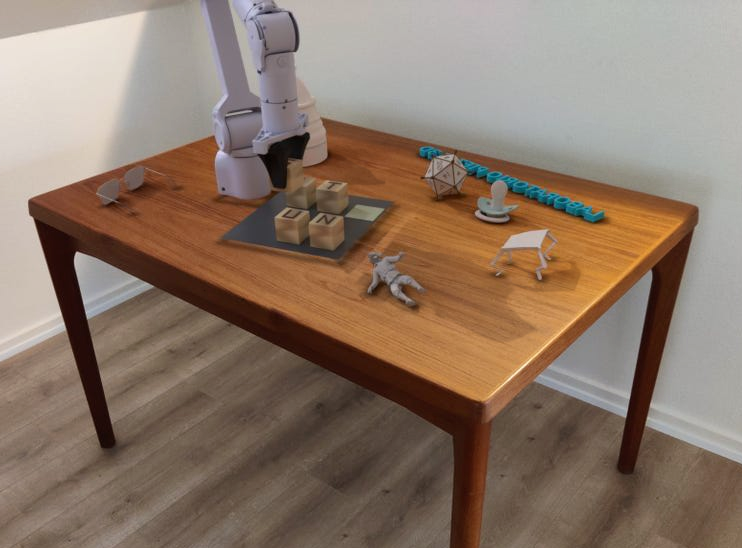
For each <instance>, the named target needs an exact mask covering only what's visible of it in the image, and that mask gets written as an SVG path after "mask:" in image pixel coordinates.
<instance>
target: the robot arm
mask: <svg viewBox="0 0 742 548" xmlns="http://www.w3.org/2000/svg"><path fill="white" fill-rule="evenodd" d="M198 3H199V6H200V10H201V12H202V16H203V20H204V25H205V28H206V33H207V36H208V37H207V38H208V41H209V44H210V49H211V52H212V56H213V61H214V65H215V69H216V73H217V77H218V81H219V85H220V89H221V93H222V97H221V99H220V100H219V101H218V102H217V104H216V105H215V106H214V107H213V109H212V112H211V118H212V123H213V134H214V139H215V142H216V145H217V147H218V148H219V150H218V151H217V152H216V155H215V158H214V159H215V160H214V170H215V171H214V172H215V175H216V176H215V177H216V184H217V191H218V194H219V195H223V196H229V197H233V198H237V199H240V200H245V201H246V200H247V201H248V200H249V201H250V200H258V199H262V198H265V197H267V196H269V195H270V194H271V193H272V190H270V187H269V177H270V179H271V182H272V185H273V187H274V188H279V189H285V188H286V184H287V164H288V158H292V159H299V160H302V161H303V156H304V152H305V149H306V146H307V144H308V141H309V139H310V133H308V132H306V128H305V127H308V126H309V118H308V114H303V113H299V112H298V99H297V86H296V76H297V75H296V71H295V64H296V63H295V61H296V60H295V53H297V52H298V51H299V48H300V45H301V43H300V41H301V37H300V36H301V35H300V29H299V24H298V21H297V18H296V17H295V15H294V13H293V11H292V10H290V9H285V8H283V7H282V8H279V6H278V5H277V3H276V1H275V0H231V1H230V2H229V0H198ZM230 3H231V6H232V8H233V10H234V11H235V13H236V14H237V17H238V18H239V20H240V21H241V22H242V24H243V26H244V28H245V29H246V38H247V39H246V40H247V43H248V46H249V50H250V53H251V58H252V64H253V67H254V69H256V73H257V81H258V91H259V96H258V95H256V94H254V93H253V92H252V91H251V90H250V86H249V85H250V84H249V81H248V78H247V72H246V69H245V65H244V64H245V63H244V61H243V57H242V52H241V47H240V44H239V43H240V42H239V40H238V35H237V31H236V26H235V23H234V17H233V14H232V10H231V6H230ZM246 111H247V112H246ZM241 112H243V113H241ZM236 113H237V114H236ZM229 114H231V115H229ZM268 174H269V177H268Z"/></svg>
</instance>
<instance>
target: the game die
mask: <svg viewBox="0 0 742 548" xmlns="http://www.w3.org/2000/svg"><path fill="white" fill-rule="evenodd" d="M457 153H458V149H455V150H454V151H453V153H449V155H446V154H442V156H435V157H434V155H433V154H431V153H430V156H431V157H432V160H431V159H430V163H429V165H428V167H427V169H426V172H425V174H424V176H421V177H420V178H419V180H425V182H426V183H427V185H428V186H429V187H430V188H431V190H432V191H433V193H434V194H435V197H434V200H435V201H437V200H438V199H439V197H441V196H448V195H456V194H458V196H459V197H462V196H463V195H462V192H461V190H462V188H463V186H464V183H465V182H466V179H467V176H468V175H469V174H468V173H472V172H473V171H470V170H469V171H468V170H467V169H466V168H465V166H464V165H463V164H462V162H461V161H460V160H461V159H460V158H459V156H457ZM472 174H473V173H472Z"/></svg>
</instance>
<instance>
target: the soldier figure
mask: <svg viewBox="0 0 742 548" xmlns="http://www.w3.org/2000/svg"><path fill="white" fill-rule="evenodd" d="M366 255H367V256H366V257H367V258H368V262H369V263H370V264H371V265H372V267H374V268H373V270H372V278H373V279H372V282H371V284H370V285H369V287H368V289H367V294H372V291H373V290H374V289H375V288H377V287H378V285H379V283H380V279H381V281H382V282H383V283H385V284H386V285H387V286H388V287H389V288H390V291H391V293H392V295H393V296H394V298H396V299H397V300H402V301H404V302H405V305H406V306H407V307H414V306H415V305H416V304H417V303H416V301H414V300H413V299H411V298H410V297H408V296H407V295H406V294H405V293H403V291H402V287H403V286H406V285H407V286H410V287H413V288H415V289H416V290H417V293H419V295H421V294H422V295H426V294H427V290H426V289H425V288H424V287H423V286H422V285H420V284H419V283H418V281H416V280H415V279H414V278H413V276H410V275H406V274H403V273H402V272H400V271H399V270H398V266H396V264H395V263H399V262H401V260H402V258H403V257H404V255H405V253H404V252H403V251H400V252H398V254H397V255H395V256H390V255H389V256H387V255H385V256H384V257H383V258H382V256H383V255H384V254H383V252H379V251H370V252H367V254H366Z"/></svg>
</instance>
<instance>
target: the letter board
mask: <svg viewBox="0 0 742 548" xmlns="http://www.w3.org/2000/svg"><path fill="white" fill-rule="evenodd" d="M394 203H395V201H392V200H385V199H378V198H373V197H367V196H359V195H352V194H349V184H348V182H341V181H335V180H328V179H326V180H324V181H323V182H322V183H321V184H320V185H317V178H315V177H308V176H304V185H303V186H301V187H300V188H299V189H297V190H296V191H295V192H293V193H286V192H280V191H278V193H276V194H275V195H274V196H272V197H271V198H269V200H268V201H266V202H265V203H263V204H262V205H261V206H259V207H258V208H257V209H256V210H254V211H252V213H250V214H248V216H246V217H245V218H244V219H242V220H241V221H240V222H239V223H237V224H236V225H235V226H233V227H232V228H230V229H229V230H228V231H227V232H225V233H224V234H222V236H220V237H219V238H220V239H222V240H228V241H232V242H233V241H234V242H239V243H245V244H250V245H255V246H261V247H266V248H270V249H277V250H283V251H288V252H293V253H297V254H298V253H299V254H304V255H310V256H316V257H320V258H325V259H331V260H336V261H339V260H340V259H341V258H342V257H343V256H344V255H345V254H346V253H347V252H348V251H349V250H350V249H351V248H352V247H353V246H354V245H355V244H356V243H357V242H358V241H359V240H360V239H361V237H362V236H363V235H364V234H365V233H367V231H368V230H369V229H370V228H371V227H372V226H373V225H374V224H375V223H376V222H377V221H378V220H379V219H380V218H381V217H382V216H383V215H384V213H386V211H388V209H390V208H391V206H392V205H393V204H394Z"/></svg>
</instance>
